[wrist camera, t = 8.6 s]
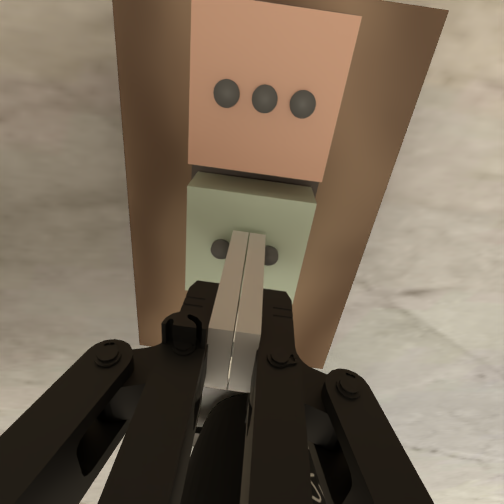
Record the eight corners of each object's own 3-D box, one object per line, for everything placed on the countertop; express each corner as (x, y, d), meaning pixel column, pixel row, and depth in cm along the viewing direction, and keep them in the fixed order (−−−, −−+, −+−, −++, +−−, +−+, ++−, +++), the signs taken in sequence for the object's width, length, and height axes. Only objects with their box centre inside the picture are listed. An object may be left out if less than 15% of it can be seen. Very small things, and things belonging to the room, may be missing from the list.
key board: (148, 326, 25) (139, 345, 24) (128, -27, 14) (108, -41, 13) (319, 348, 26) (322, 369, 24) (427, 17, 15) (450, 10, 13)
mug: (365, 440, 32) (411, 619, 21) (235, 475, 37) (220, 634, 26) (285, 337, 25) (294, 522, 15) (140, 397, 30) (71, 567, 20)
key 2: (194, 266, 19) (183, 293, 17) (197, 171, 16) (185, 187, 14) (290, 279, 20) (292, 308, 17) (311, 187, 17) (317, 206, 14)
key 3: (198, 151, 16) (186, 165, 14) (204, 3, 13) (189, -11, 11) (315, 168, 16) (322, 184, 14) (347, 24, 13) (364, 14, 11)
